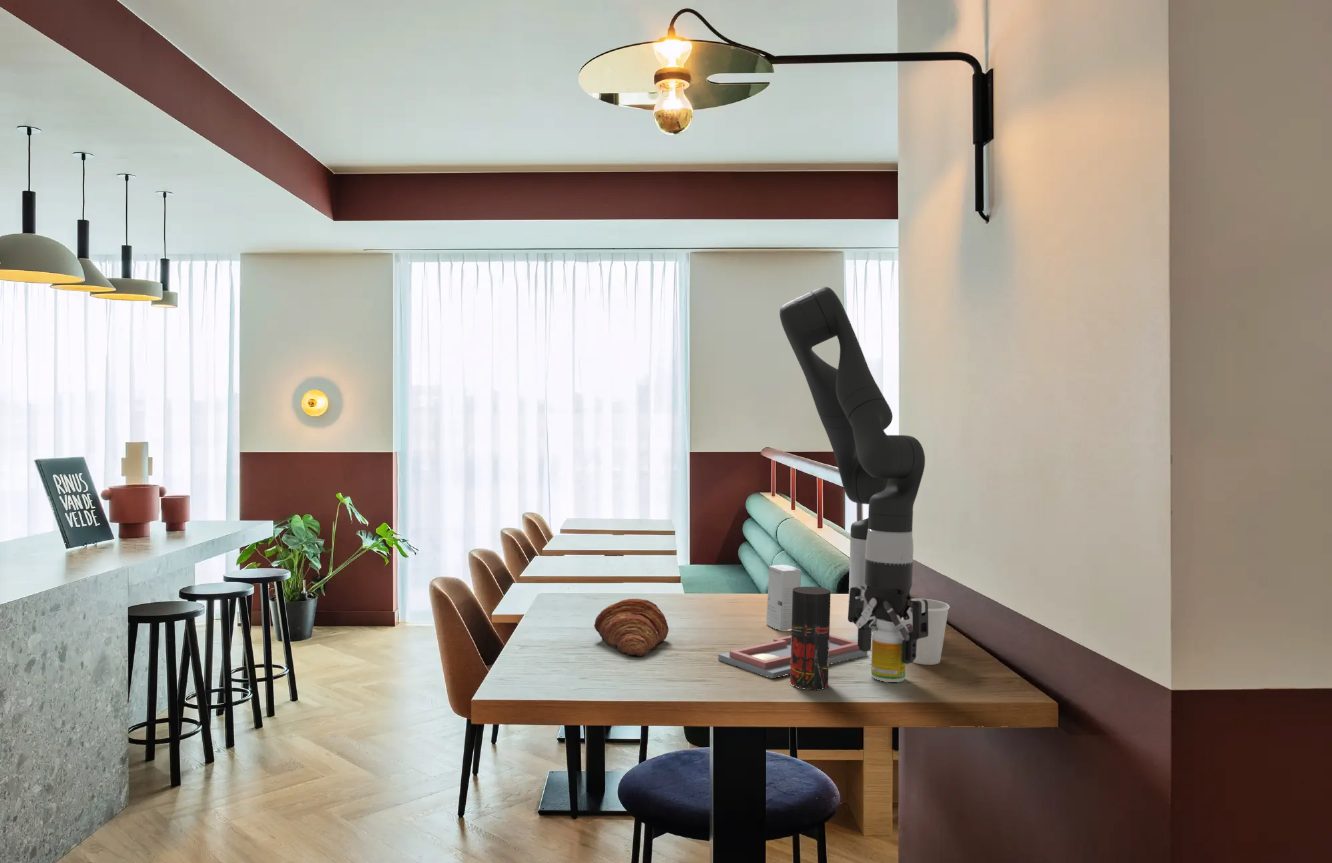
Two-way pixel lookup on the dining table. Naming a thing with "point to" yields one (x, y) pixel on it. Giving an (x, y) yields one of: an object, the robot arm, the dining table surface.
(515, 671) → the dining table surface
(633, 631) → the pastry
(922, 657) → the dixie cup
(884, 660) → the supplement bottle
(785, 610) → the skincare box
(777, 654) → the pink-rimmed grey tray
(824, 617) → the deodorant
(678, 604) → the dining table surface
